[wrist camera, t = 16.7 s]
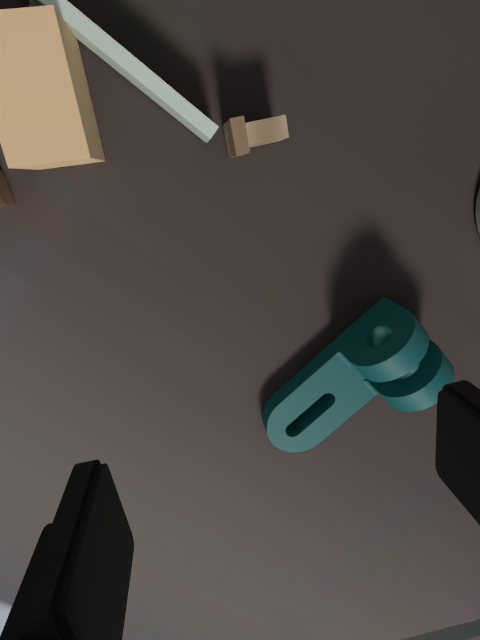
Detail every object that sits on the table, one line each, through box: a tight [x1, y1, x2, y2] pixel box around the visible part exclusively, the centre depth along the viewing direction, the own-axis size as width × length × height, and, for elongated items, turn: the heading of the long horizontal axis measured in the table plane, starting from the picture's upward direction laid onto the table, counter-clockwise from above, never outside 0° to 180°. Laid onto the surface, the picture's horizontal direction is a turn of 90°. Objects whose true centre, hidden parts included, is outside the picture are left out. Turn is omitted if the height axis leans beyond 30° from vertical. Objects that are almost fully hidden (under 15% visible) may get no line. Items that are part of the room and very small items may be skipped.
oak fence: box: [0, 115, 289, 206], centre depth 29 cm, size 25×2×4 cm, turn 101°
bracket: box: [262, 296, 454, 452], centre depth 37 cm, size 18×7×8 cm, turn 132°
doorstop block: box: [0, 5, 105, 170], centre depth 26 cm, size 5×8×6 cm, turn 7°
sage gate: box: [27, 0, 218, 143], centre depth 27 cm, size 15×2×4 cm, turn 53°
